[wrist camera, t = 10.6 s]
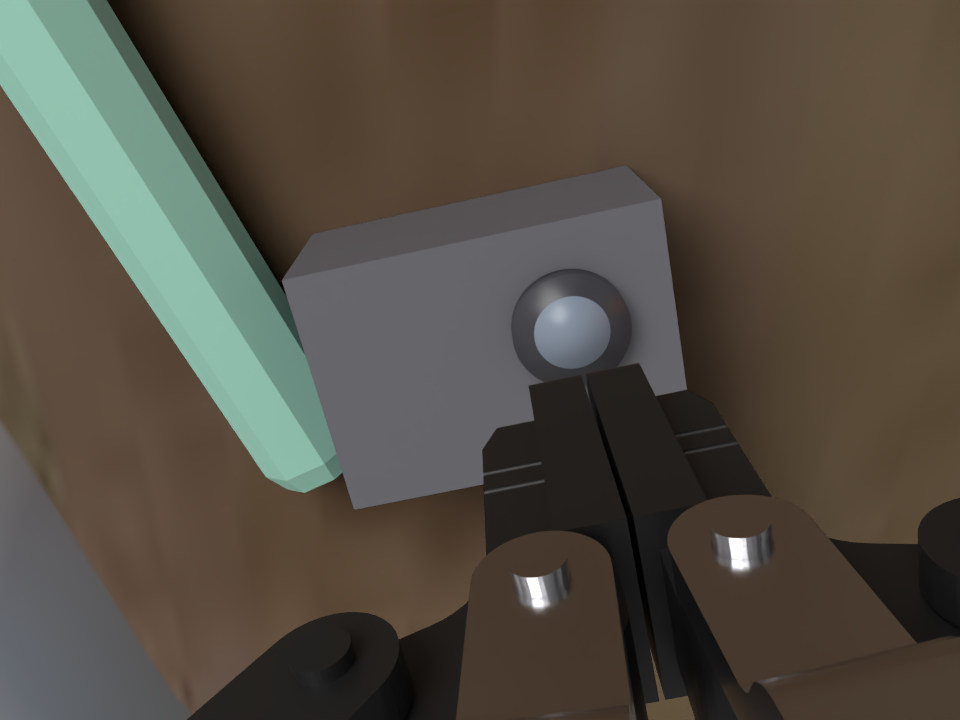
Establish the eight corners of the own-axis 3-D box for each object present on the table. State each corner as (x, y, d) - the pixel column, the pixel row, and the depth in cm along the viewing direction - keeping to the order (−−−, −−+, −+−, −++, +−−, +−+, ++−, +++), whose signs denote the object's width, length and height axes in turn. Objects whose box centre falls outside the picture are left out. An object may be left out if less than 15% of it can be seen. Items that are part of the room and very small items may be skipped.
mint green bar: (351, 506, 36) (-33, -95, 27) (252, 524, 39) (-126, -13, 30) (405, 425, 41) (93, -110, 32) (313, 447, 44) (2, -38, 35)
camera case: (626, 165, 37) (666, 204, 30) (657, 373, 41) (700, 453, 33) (312, 233, 38) (276, 287, 31) (371, 431, 42) (351, 521, 34)
